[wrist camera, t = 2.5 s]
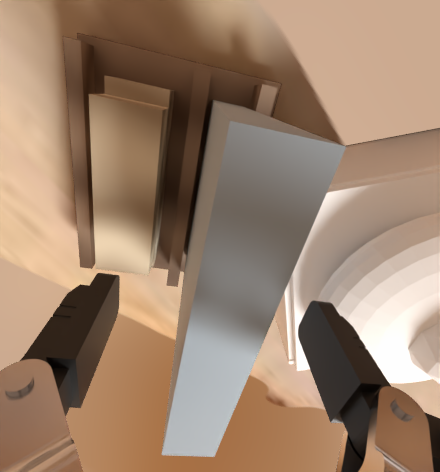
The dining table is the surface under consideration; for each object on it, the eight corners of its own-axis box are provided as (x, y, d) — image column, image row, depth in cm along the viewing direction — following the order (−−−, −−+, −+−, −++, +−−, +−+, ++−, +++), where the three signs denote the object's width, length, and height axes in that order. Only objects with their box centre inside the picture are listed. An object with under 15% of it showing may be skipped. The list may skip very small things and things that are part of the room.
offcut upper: (104, 93, 16) (88, 94, 14) (168, 107, 17) (162, 110, 14) (106, 251, 22) (95, 268, 20) (154, 257, 22) (148, 275, 20)
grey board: (212, 99, 19) (229, 120, 5) (244, 106, 19) (346, 146, 5) (186, 255, 25) (161, 455, 11) (210, 259, 26) (214, 456, 12)
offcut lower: (116, 77, 18) (104, 75, 16) (174, 90, 18) (170, 90, 16) (115, 245, 24) (106, 260, 22) (157, 251, 25) (153, 266, 23)
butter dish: (255, 162, 23) (329, 270, 9) (460, 123, 22) (892, 177, 8) (270, 303, 31) (319, 469, 18) (418, 279, 31) (592, 433, 17)
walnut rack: (86, 36, 18) (52, 21, 14) (276, 84, 20) (294, 82, 16) (95, 250, 26) (75, 278, 22) (227, 268, 28) (230, 297, 24)
